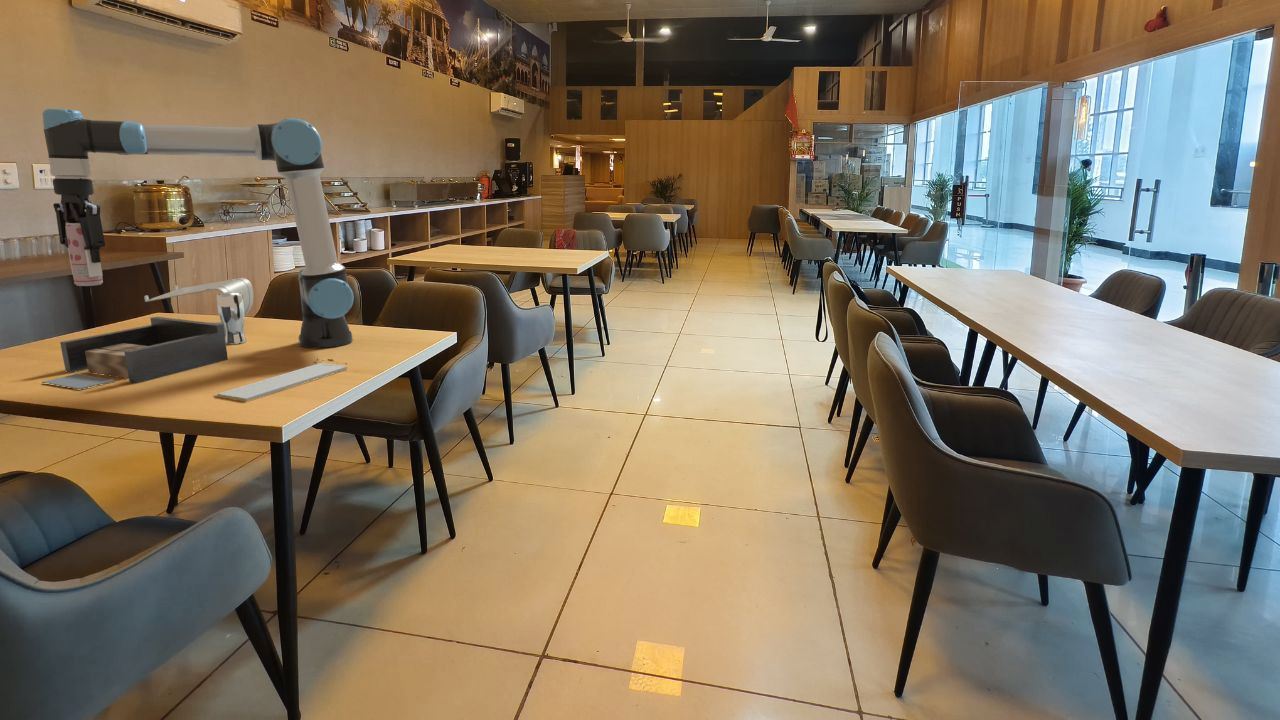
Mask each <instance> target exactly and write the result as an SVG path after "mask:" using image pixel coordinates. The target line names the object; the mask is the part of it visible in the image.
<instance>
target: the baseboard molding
mask: <svg viewBox="0 0 1280 720" xmlns="http://www.w3.org/2000/svg"><path fill="white" fill-rule="evenodd" d="M317 361H319V359H318V358H316V360H314V361H313V365H309V366H305V367H302V368H299V369H295V370H293V371H290V372H285V373H283V374H279V375H276V376H272V377H269V378H265V379H262V380H260V381H256V382H252V383H249V384H245V385H243V386H239V387H236V388H233V389H232V388H231V389H228V390H226V391H222V392H219V393H217V394H214V395H213V397H214V396H217V397H216V398H220V397H223V398H222V399H226V398H229V399H228V400H231V399H236V400H235V401H237V400H241V401H240V402H242V401H248V402H250V401H249V400H251V401H253V400H252V399H254V400H256V399H255V398H257V399H260V398H259V397H261V398H263V397H262V396H264V397H266V396H265V395H267V396H269V395H268V394H270V395H273V394H276V393H279V392H282V391H285V390H284V389H286V388H289V387H292V386H295V385H298V384H301V383H304V382H307V381H310V382H312V381H311V380H313V379H316V378H320V377H323V376H326V375H329V376H331V375H330V374H332V373H335V374H337V373H336V372H338V373H340V372H339V371H342V370H345V371H347V370H348V366H346V365H347V362H343V365H338V364H337V363H339V362H337V361H336V364H333V363H331V364H330V363H324V362H320V363H317ZM322 361H325V360H322ZM327 362H335V361H334V359H333V358H332V359H329V358H328V359H327ZM344 364H345V365H344ZM346 369H347V370H346ZM342 372H343V371H342ZM332 375H333V374H332ZM326 377H327V376H326ZM323 378H324V377H323ZM320 379H321V378H320ZM307 383H308V382H307ZM304 384H305V383H304ZM301 385H302V384H301ZM298 386H299V385H298ZM295 387H296V386H295ZM292 388H293V387H292ZM289 389H290V388H289ZM281 390H282V391H281ZM286 390H287V389H286ZM278 391H279V392H278ZM275 392H276V393H275ZM272 393H273V394H272Z"/></svg>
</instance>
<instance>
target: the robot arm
mask: <svg viewBox="0 0 1280 720" xmlns="http://www.w3.org/2000/svg"><path fill="white" fill-rule="evenodd" d="M42 123H43V132H44V133H43V134H44V139H45V145H46V148H47V155H48V161H49V168H50V175H51V176H53V177H54V178H52V186H53V192H54V194H56V195H60V196H61V197H60V198H61V199H60V202H59V203H57V202H55V203H53V205H52V206H53V209H54V212H55V216H56V223H57V230H58V239H59V243H60V245H64V246H65V247H66V248H67V250H68V258H69V262H70V268H71V270H72V265H71V259H70V253H69V247H68V240H67V234H66V228H65V227H66V223H67V222H68V223H80V226H81V229H82V234H83V237H84V240H85V243H86V246H87V247H85V248H84V249H85V255H86V261H87V267H88V273H89V277H95V276H102V277H103V269H102V262H101V254H100V250H101V248H103V247H106V240H105V236H104V230H103V224H102V219H101V206H100V205H99V204H92V201H91V200H90V196H92V195H94V193H95V192H94V191H95V190H94V185H93V181H92V179H89V177H92V174H91V164H90V162H89V159H90V158H89V153H93V154H95V153H99V154H116V155H120V156H121V155H123V156H129V155H131V156H132V155H138V156H139V155H142V156H144V155H145V156H146V155H156V156H157V155H158V156H159V155H160V156H165V155H167V156H210V157H211V156H221V157H222V156H223V157H256V159H258V160H259V161H272V162H275V165H276V170H277V174H279V175H280V176H281V177H283V178H284V179H285V181H286V185H287V186H286V187H287V191H288V194H289V199H290V203H291V204H290V205H291V207H292V213H293V216H294V220H295V221H294V222H295V226H296V230H297V233H298V239H299V243H300V248H301V252H302V257H303V261H304V266H305V267H304V268H301V269H300V270H299V271H298V278H297V280H298V283H299V291H300V292H299V293H300V302H301V303H300V304H301V312H302V323H301V327H300V334H299V335H298V344H299V346H300V345H301V347H303V346H305V348H310V347H319V348H318V349H320V347H323V349H324V347H325V348H333V347H334V346H335V347H340V346H344V345H348V344H351V343H352V342H353V340H354V339H353V333H352V331H351V330H350V327H349V325H348V322H347V319H346V317H345V315H346V314H347V313H348V312H350V310H351V308H352V306H353V304H354V299H355V298H354V292H353V289H352V287H351V286H350V285H349V281H348V276H347V272H346V267H345V266H344V265H343V264H341V263H340V262H339V260H338V256H337V252H336V247H335V241H334V238H333V233H332V228H331V222H330V218H329V214H328V209H327V204H326V200H325V195H324V193H325V192H324V190H323V185H322V181H321V174H322V173H323V172H324V170H325V167H324V166H325V165H324V161H323V156H322V149H323V142H322V138H321V136H320V134H319V132H318V130H317V129H316V128H315V126H313V125H312V124H311V123H310V122H308V121H306V120H303V119H301V118H300V119H299V118H295V117H294V118H292V117H290V118H284V119H282V120H281V121H279V122H278V121H277V122H276V123H267V124H265V123H263V124H262V123H261V124H259V123H258V124H257V123H256V124H254V125H253V126H252V127H236V126H235V127H234V126H233V127H232V126H201V125H172V124H142V123H140V122H135V121H128V120H124V121H120V120H95V119H94V120H91V119H85V118H84V117H83V113H82V112H81V111H79V110H75V109H64V108H46V109H44V110H43V111H42ZM71 274H72V276H73V272H72V271H71Z"/></svg>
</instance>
